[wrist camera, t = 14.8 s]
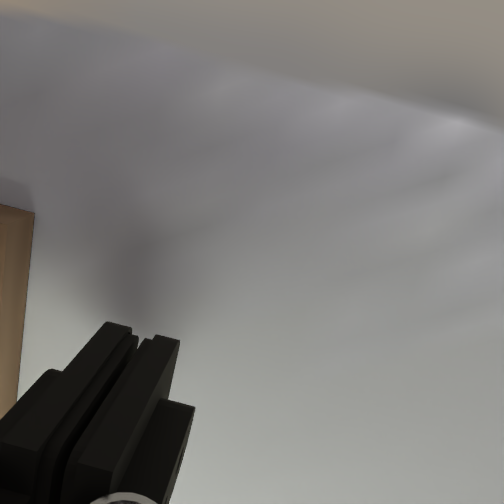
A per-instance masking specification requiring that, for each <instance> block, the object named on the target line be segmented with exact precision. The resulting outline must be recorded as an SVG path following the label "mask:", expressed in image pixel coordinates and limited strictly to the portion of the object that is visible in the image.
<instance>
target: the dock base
mask: <svg viewBox="0 0 504 504" xmlns="http://www.w3.org/2000/svg"><path fill="white" fill-rule="evenodd" d="M33 223H34V213H32V212H28V211H24V210H20V209H17V208H13V207H9V206H5V205H1V204H0V419H1V418H2V417H3V416H4V415H5V414H6V413H7V412H8V411H9V410H10V409H11V408H12V407H13V406H14V404H15V403H16V399H17V389H18V378H19V368H20V358H21V347H22V337H23V327H24V316H25V306H26V296H27V285H28V275H29V265H30V254H31V244H32V234H33Z"/></svg>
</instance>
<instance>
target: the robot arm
mask: <svg viewBox="0 0 504 504" xmlns="http://www.w3.org/2000/svg"><path fill="white" fill-rule="evenodd" d="M138 341H139V337H138V336H136V335H132V328H131V327H127V326H123V325H120V324H116V323H112V322H108V321H107V322H105V323H104V324H103V326H102V327H101V328H100V329H99V330H98V331H97V332H96V334H95V335H94V336H93V337H92V338H91V339H90V341H89V342H88V343H87V344H86V345H85V346H84V347H83V349H82V350H81V351H80V352H79V353H78V354H77V355H76V357H75V358H74V359H73V360H72V361H71V362H70V363H69V365H68V366H67V367H66V368H65V369H64V370H63V371H59V370H55V369H48V370H47V371H46V372H45V373H43V375H42V376H41V377H40V378H39V379H38V380H37V381H36V382H35V383H34V384H33V385H32V386H31V387H30V388H29V390H28V391H27V392H26V393H25V394H24V395H23V396H22V397H21V398H20V399H19V400H18V401H17V402H16V403H15V404H14V406H13V407H12V408H11V409H10V410H9V411H8V412H7V413H6V414H5V415H4V416H3V417H2V418H1V419H0V504H169V501H170V498H171V495H172V492H173V489H174V486H175V483H176V479H177V476H178V473H179V470H180V467H181V463H182V460H183V456H184V453H185V449H186V445H187V441H188V437H189V434H190V429H191V425H192V421H193V417H194V413H195V407H194V406H190V405H186V404H182V403H179V402H175V401H171V400H168V396H169V392H170V387H171V383H172V378H173V373H174V369H175V364H176V360H177V355H178V351H179V346H180V340H176V339H172V338H169V337H165V336H161V335H157V334H156V335H155V336H154V338H153V339H152V340H151V339H147V338H145V339H144V340H143V341H142V343H141V344H140V346H139V348H138V349H137V347H138Z"/></svg>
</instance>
